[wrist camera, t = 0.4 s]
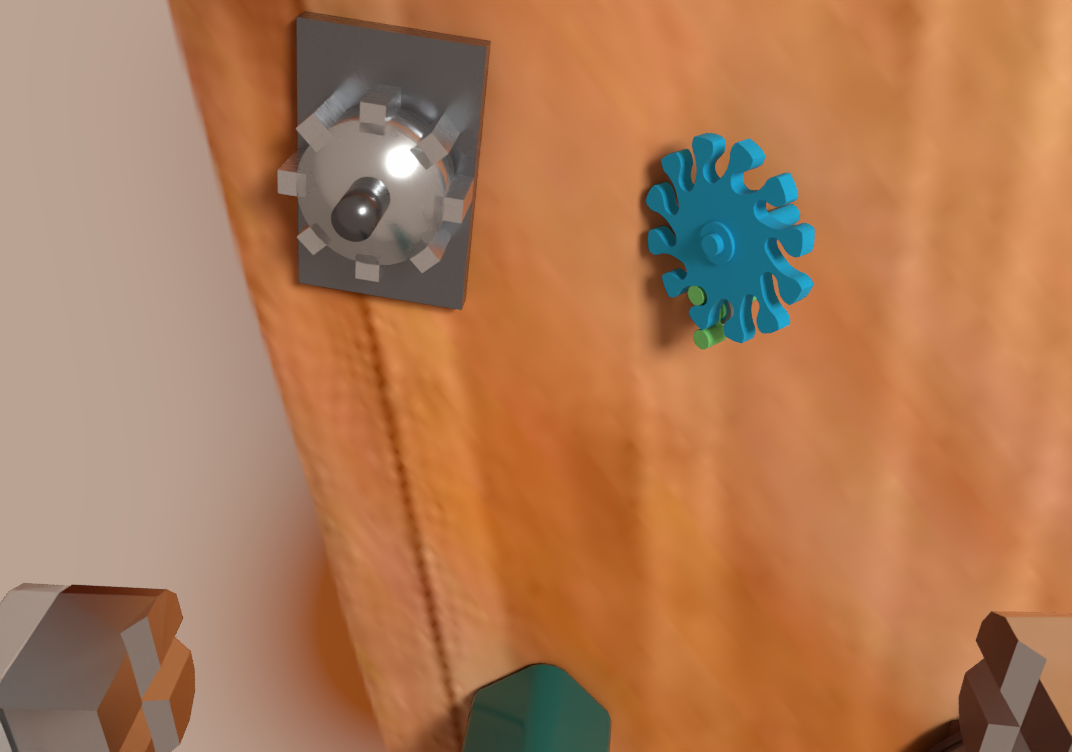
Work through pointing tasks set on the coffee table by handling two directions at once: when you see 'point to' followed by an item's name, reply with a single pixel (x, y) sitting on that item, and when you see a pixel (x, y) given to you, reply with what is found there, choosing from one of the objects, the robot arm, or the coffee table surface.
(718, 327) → the gear
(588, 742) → the green bottle
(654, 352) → the coffee table surface
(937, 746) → the dark brown figurine
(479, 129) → the grey metal fixture
